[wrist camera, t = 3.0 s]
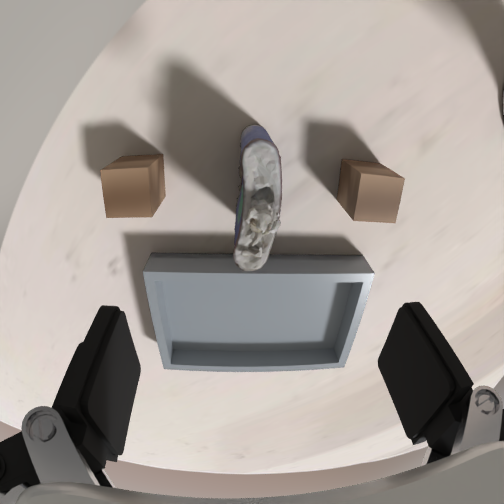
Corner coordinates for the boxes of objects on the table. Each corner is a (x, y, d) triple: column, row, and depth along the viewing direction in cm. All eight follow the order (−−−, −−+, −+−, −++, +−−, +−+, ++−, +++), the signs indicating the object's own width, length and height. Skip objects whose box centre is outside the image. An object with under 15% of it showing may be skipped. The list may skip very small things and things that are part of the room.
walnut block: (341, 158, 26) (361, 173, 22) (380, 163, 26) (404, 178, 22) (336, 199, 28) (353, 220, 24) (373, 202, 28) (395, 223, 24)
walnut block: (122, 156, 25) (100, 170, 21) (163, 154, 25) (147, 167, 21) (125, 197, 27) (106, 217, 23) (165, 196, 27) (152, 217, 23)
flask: (241, 123, 24) (242, 142, 15) (275, 126, 25) (298, 147, 15) (233, 221, 29) (231, 289, 20) (264, 223, 29) (277, 291, 20)
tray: (151, 252, 30) (142, 271, 27) (363, 255, 31) (374, 273, 28) (168, 348, 37) (163, 368, 34) (337, 347, 38) (344, 367, 35)
